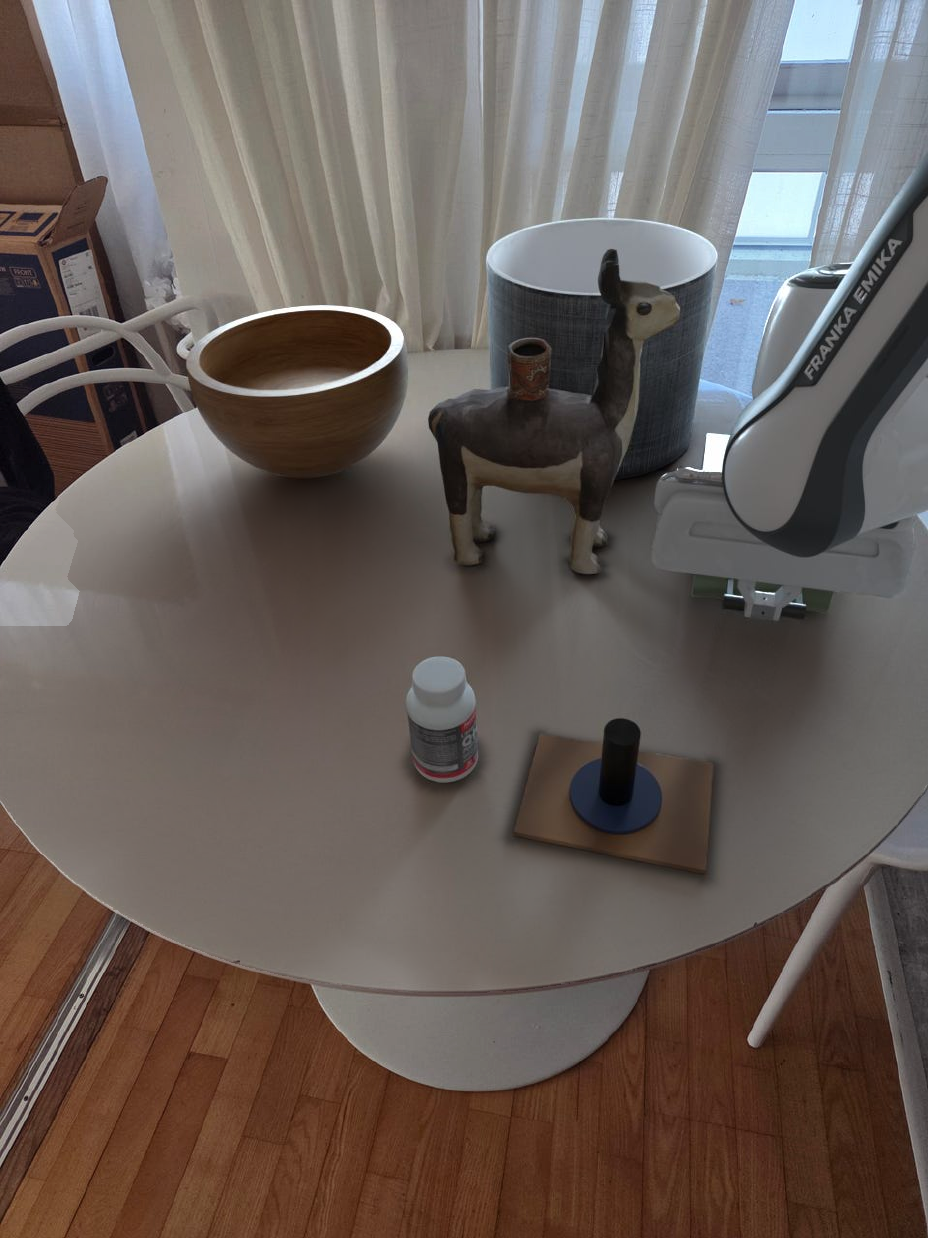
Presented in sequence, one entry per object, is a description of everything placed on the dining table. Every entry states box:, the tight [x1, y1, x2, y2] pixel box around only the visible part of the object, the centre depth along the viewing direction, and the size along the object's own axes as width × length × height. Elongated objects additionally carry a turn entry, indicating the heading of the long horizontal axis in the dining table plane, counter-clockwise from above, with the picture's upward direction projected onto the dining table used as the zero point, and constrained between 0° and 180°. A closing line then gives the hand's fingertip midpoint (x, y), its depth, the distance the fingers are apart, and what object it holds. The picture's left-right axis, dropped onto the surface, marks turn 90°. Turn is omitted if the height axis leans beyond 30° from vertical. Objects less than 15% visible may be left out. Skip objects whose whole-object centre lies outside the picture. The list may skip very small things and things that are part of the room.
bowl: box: [185, 305, 410, 479], centre depth 102 cm, size 25×25×15 cm
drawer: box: [691, 574, 835, 621], centre depth 84 cm, size 19×12×4 cm, turn 165°
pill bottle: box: [405, 656, 479, 784], centre depth 67 cm, size 5×5×10 cm
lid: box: [570, 717, 662, 835], centre depth 63 cm, size 7×7×8 cm
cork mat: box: [513, 733, 715, 875], centre depth 66 cm, size 14×10×1 cm
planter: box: [485, 217, 719, 481], centre depth 103 cm, size 25×25×22 cm
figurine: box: [427, 249, 680, 575], centre depth 82 cm, size 10×23×30 cm, turn 82°
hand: (761, 614), depth 75 cm, fingers closed, pressing on drawer
